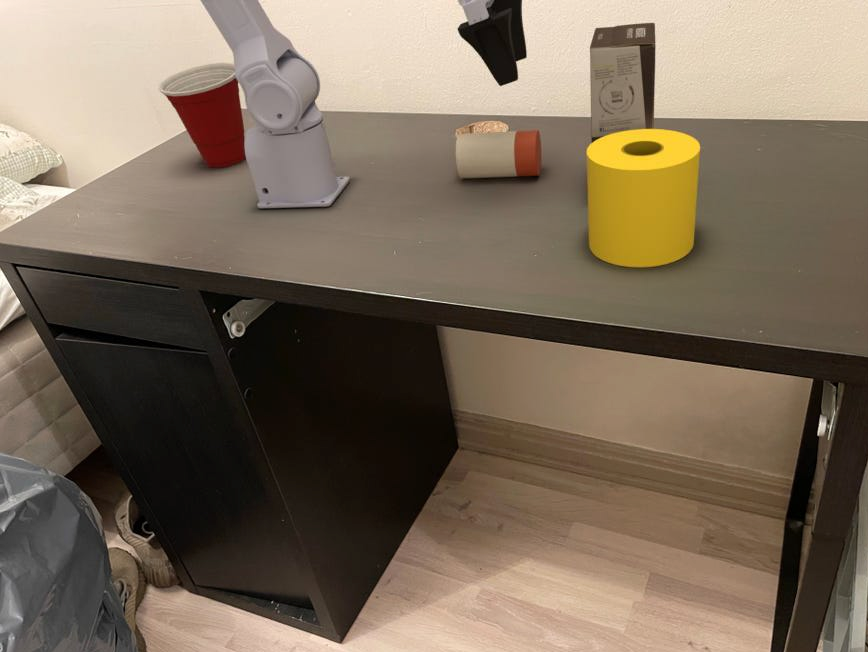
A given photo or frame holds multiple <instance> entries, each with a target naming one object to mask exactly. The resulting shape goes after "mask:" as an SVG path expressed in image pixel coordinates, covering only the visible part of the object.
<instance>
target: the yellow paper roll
mask: <svg viewBox="0 0 868 652" xmlns="http://www.w3.org/2000/svg"><path fill="white" fill-rule="evenodd" d="M700 152H701V145H700V143H699V141H698V140H697V139H696V138H695V137H694V136H692V135H689V134H686V133H683V132H679V131H677V130H671V129H662V128H653V129H637V130H628V131H622V132H617V133H613V134H610V135H607V136H604V137H602V138H599V139H597V140H596V141H594V142H593V143H592V142H591V143H590V144H589V146H587V148H586V177H587V178H586V179H587V216H588V219H587V220H588V247H589V250H590V251H591V252H592V254H593V255H594V256H595V257H596V258H598V259H600V260H601V261H604V262H605V263H609V264H612V265H615V266H620V267H627V268H652V267H660V266H664V265H668V264H671V263H674V262H676V261H678V260H681V259H683V258H684V257H685V256H687V255H688V254H689V253H690V252H691V251H692V250H693V247H694V244H695V231H696V229H695V228H696V214H697V198H698V184H699V170H700V169H699V168H700V154H701V153H700Z"/></svg>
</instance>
